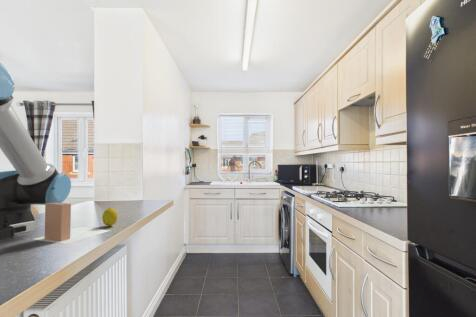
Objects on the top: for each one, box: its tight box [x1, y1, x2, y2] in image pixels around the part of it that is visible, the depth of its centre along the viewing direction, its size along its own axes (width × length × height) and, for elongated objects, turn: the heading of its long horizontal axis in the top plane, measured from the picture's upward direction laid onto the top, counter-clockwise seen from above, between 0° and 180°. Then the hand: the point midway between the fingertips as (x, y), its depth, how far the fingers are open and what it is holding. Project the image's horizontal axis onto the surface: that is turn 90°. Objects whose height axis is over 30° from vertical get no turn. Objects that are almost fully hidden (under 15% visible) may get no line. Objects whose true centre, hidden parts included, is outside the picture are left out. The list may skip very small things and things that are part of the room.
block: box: [44, 202, 72, 241], centre depth 86 cm, size 8×3×12 cm, turn 70°
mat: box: [33, 226, 112, 245], centre depth 91 cm, size 16×18×1 cm
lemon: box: [102, 207, 118, 228], centre depth 104 cm, size 6×6×8 cm
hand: (34, 225), depth 79 cm, fingers closed
